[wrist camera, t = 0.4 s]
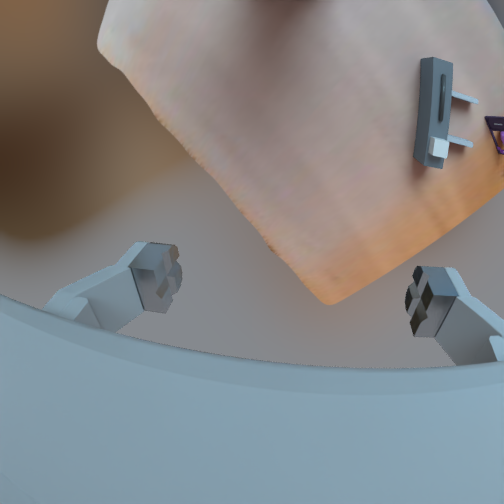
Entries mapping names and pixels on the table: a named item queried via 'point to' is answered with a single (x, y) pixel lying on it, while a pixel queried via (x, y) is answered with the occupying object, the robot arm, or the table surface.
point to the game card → (496, 128)
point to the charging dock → (436, 112)
